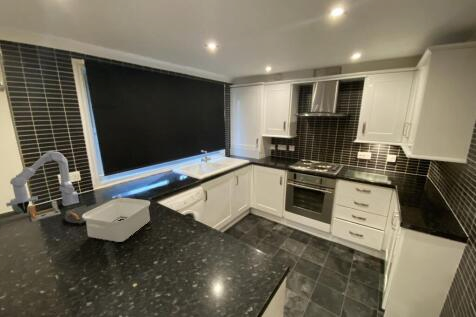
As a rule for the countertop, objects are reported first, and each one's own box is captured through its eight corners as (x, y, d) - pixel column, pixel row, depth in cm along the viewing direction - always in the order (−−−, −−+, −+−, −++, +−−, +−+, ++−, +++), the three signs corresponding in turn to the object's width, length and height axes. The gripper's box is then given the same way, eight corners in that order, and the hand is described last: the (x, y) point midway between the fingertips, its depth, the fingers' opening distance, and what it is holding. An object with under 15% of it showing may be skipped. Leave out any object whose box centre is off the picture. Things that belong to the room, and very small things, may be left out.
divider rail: (57, 207, 148) (56, 200, 146) (60, 212, 141) (58, 204, 140) (30, 214, 137) (28, 206, 136) (31, 219, 130) (29, 211, 129)
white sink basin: (118, 251, 100) (114, 226, 97) (75, 243, 106) (70, 219, 103) (158, 219, 132) (157, 199, 129) (124, 214, 139) (121, 195, 136)
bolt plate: (59, 210, 144) (58, 209, 144) (60, 213, 139) (60, 212, 139) (31, 217, 133) (30, 216, 133) (31, 221, 128) (31, 220, 128)
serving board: (76, 229, 120) (74, 220, 119) (59, 220, 131) (58, 211, 130) (133, 205, 154) (133, 198, 153) (116, 199, 165) (116, 193, 163)
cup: (20, 213, 138) (17, 201, 136) (10, 213, 138) (6, 200, 136) (32, 209, 146) (29, 196, 144) (22, 208, 146) (19, 196, 144)
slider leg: (35, 213, 139) (34, 205, 138) (37, 218, 132) (35, 209, 131) (31, 214, 137) (29, 206, 136) (32, 219, 130) (30, 211, 129)
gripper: (35, 189, 139) (39, 207, 141) (4, 195, 128) (9, 214, 130) (36, 192, 134) (40, 210, 137) (4, 198, 123) (9, 217, 126)
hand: (25, 212), depth 133 cm, fingers closed
